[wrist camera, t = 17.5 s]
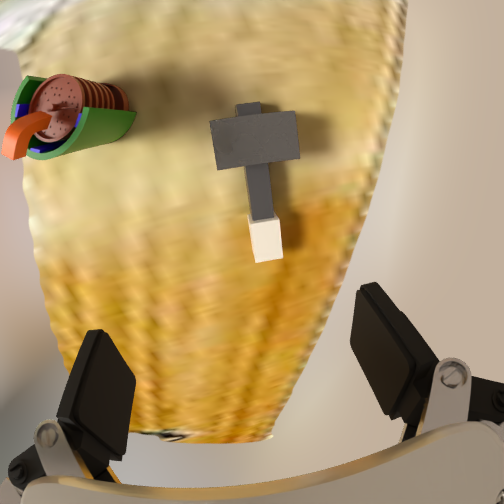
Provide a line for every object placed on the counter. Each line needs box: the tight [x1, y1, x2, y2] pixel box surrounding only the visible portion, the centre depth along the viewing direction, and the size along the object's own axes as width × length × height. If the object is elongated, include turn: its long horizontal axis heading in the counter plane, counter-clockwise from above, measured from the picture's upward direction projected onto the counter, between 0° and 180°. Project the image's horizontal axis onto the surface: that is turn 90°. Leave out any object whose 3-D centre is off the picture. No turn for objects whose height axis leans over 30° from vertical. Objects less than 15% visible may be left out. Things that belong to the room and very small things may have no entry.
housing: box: [209, 111, 300, 170], centre depth 33 cm, size 6×10×6 cm, turn 98°
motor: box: [1, 74, 136, 160], centre depth 23 cm, size 10×9×20 cm
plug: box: [235, 102, 283, 263], centre depth 37 cm, size 22×4×4 cm, turn 8°
